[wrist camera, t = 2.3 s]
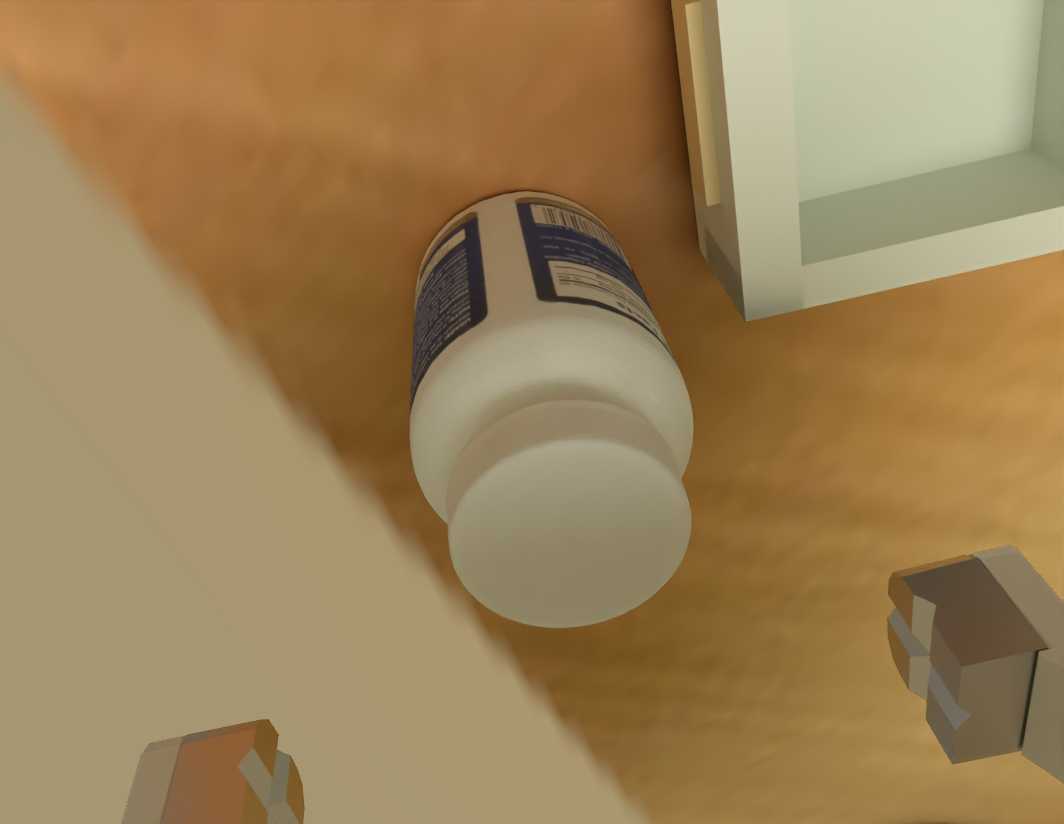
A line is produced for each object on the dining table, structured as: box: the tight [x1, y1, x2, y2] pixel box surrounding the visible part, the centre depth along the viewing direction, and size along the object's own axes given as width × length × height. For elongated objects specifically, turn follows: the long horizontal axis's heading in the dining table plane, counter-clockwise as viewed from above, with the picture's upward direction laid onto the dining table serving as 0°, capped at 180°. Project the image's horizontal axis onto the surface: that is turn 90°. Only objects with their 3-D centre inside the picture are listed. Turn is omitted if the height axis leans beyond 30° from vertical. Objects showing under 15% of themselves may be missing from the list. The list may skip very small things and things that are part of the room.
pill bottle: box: [409, 191, 694, 628], centre depth 19 cm, size 5×5×10 cm
